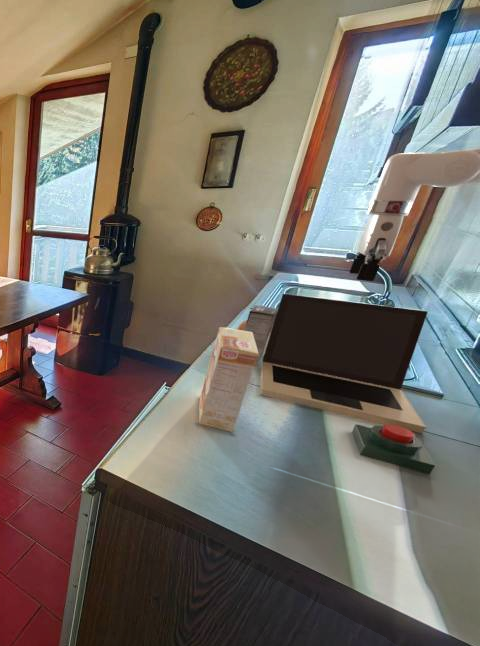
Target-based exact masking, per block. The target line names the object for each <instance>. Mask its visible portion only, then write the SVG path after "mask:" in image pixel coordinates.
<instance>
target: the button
mask: <svg viewBox="0 0 480 646" xmlns="http://www.w3.org/2000/svg"><path fill="white" fill-rule="evenodd" d="M383 426H384V427H383V429H382V431H381V434H382V435H383V436H385V437H387V438H389V439H392V440H394V441H397V442H401V443H411V441H412V440H413V438H414V436H415V435H416V434H415V432H414V431H410V430H408V429H405V428H403V427H400V426H396V425H390V424H387V425H385V424H383ZM415 437H416V436H415Z"/></svg>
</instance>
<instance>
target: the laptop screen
mask: <svg viewBox="0 0 480 646" xmlns="http://www.w3.org/2000/svg"><path fill="white" fill-rule="evenodd" d="M277 308H278V311H277V314H276V318H275V321H274V324H273V328H272V331H271V334H270V338H269V341H268V344H267V347H266V350H265V353H264V356H263V358H262V360H261V361H262V362H267V363H272V364H276V365H281V366H286V367H291V368H296V369H301V370H306V371H311V372H316V373H321V374H326V375H331V376H336V377H340V378H345V379H350V380H355V381H360V382H365V383H370V384H375V385H380V386H385V387H390V388H395V389H400V390H401V389H402V387H403V384H404V381H405V379H406V376H407V373H408V370H409V368H410V364H411V362H412V358H413V355H414V352H415V350H416V347H417V344H418V341H419V338H420V335H421V332H422V330H423V326H424V324H425V321H426V319H427V315H428V313H429V311H427V310H421V309H412V308H404V307H395V306H388V305H380V304H371V303H365V302H357V301H356V302H355V301H347V300H340V299H332V298H324V297H317V296H309V295H308V296H307V295H299V294H292V293H282V295H281V298H280V301H279V304H278V307H277ZM262 362H261V363H262ZM401 391H402V390H401Z"/></svg>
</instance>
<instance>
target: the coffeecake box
mask: <svg viewBox="0 0 480 646" xmlns="http://www.w3.org/2000/svg"><path fill="white" fill-rule="evenodd" d="M236 329H237V328H236ZM236 329H235V328H231V327H224V326H219V327H218V331H217V335H216V338H215V342H214V344H213V345H214V346H213V348H212V349H213V350H212V352H211V355H210V360H209V363H208V367H207V370H206V374H205V378H204V381H203V385H202V389H201V392H200V395H199V408H198V409H199V410H198V424H199V425H201V426H204V427H205V426H206V427H210V428H215V429H218V430H221V431H226V432H230V433H234V430H235V428H236V427H235V426H236V424H237V421H238V418H239V416H240V415H239V414H240V411H241V408H242V406H243V403H244V400H245V397H246V395H247V391H248V388H249V385H250V381H251V378H252V375H253V372H254V369H255V365H256V360H257V357H258V355H259V354H258V350H257V346H256V343H255V339H254V336H253V333H252V332H249V331H242V330H236Z"/></svg>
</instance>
